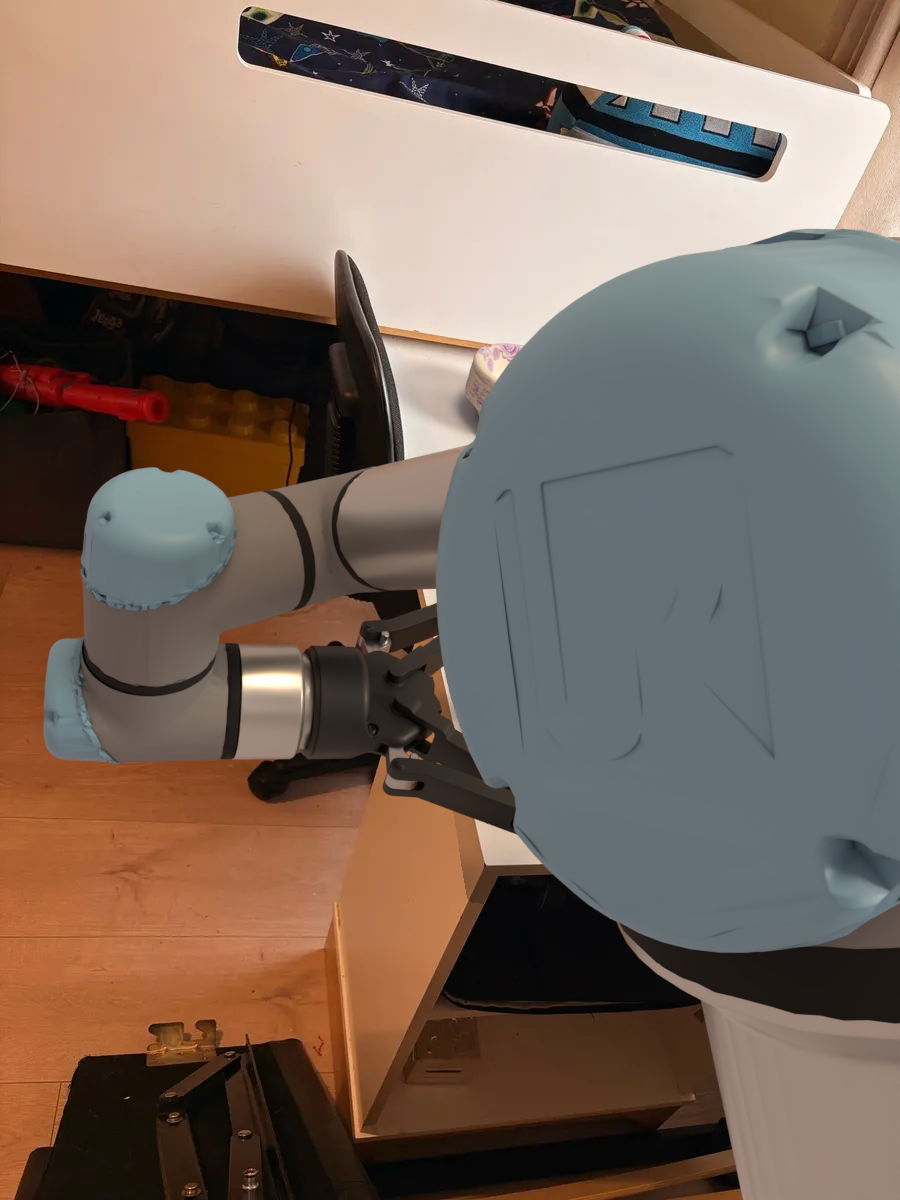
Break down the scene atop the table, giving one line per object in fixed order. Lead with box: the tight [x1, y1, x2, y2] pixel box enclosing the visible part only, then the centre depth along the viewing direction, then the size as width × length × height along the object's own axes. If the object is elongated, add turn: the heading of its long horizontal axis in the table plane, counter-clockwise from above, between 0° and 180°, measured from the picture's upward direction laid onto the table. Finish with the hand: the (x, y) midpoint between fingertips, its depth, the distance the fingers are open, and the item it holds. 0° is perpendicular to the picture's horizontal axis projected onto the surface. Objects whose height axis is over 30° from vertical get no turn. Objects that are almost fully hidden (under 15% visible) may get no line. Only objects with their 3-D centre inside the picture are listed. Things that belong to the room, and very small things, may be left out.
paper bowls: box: [464, 342, 525, 417], centre depth 115 cm, size 15×15×8 cm
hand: (586, 704), depth 67 cm, fingers open, 13 cm apart
